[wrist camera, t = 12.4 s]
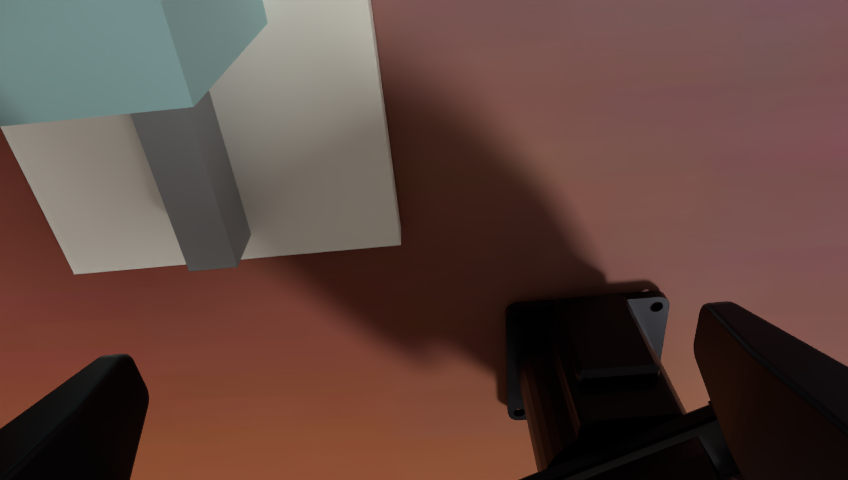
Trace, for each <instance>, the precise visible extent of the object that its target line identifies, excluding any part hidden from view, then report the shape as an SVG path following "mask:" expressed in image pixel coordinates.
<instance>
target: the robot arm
mask: <svg viewBox="0 0 848 480" xmlns="http://www.w3.org/2000/svg"><path fill="white" fill-rule="evenodd" d="M655 302H659V303H657V304H656V305H653V306H651V305H652V304H653V303H655ZM668 311H669V301H668V300H667V298H666V296H665V295H664V294H663V293H662V292H660V291H647V292H635V293H624V294H612V295H600V296H589V297H577V298H566V299H554V300H543V301H531V302H519V303H514V304H511V305H509V306H508V307H507V308H506V310H505V348H506V387H507V409H508V414H509V417H510V418H511V419H514V420H527V423H528V428H529V432H530V437H531V442H532V446H533V451H534V456H535V461H536V465H537V470H538V472H537V473H534V474H532V475H529V476H527V477H524V478H522V479H519V480H848V367H847V366H845V365H844V364H842V363H840V362H838V361H837V360H835V359H833V358H831V357H829V356H828V355H826V354H824V353H822V352H821V351H819V350H817V349H815V348H813V347H812V346H810V345H808V344H806V343H805V342H803V341H801V340H799V339H797V338H796V337H794V336H792V335H790V334H789V333H787V332H785V331H783V330H782V329H780V328H778V327H776V326H774V325H773V324H771V323H769V322H767V321H766V320H764V319H762V318H760V317H758V316H757V315H755V314H753V313H751V312H750V311H748V310H746V309H744V308H742V307H741V306H739V305H737V304H735V303H733V302H728V301H726V302H714V303H706V304H704V305H703V306H702V308H701V310H700V313H699V318H698V324H697V329H696V334H695V339H694V355H695V359H696V362H697V364H698V367H699V370H700V372H701V375H702V378H703V381H704V383H705V386H706V389H707V392H708V394H709V397H710V400H711V401H708V403H709V405H706V406H704V407H701V408H699V409H696V410H694V411H691V412H689V413H686V411H685V409H684V407H683V405H682V403H681V401H680V399H679V397H678V395H677V393H676V391H675V389H674V387H673V385H672V383H671V381H670V379H669V377H668V375H667V373H666V371H665V369H664V367H663V365H662V363H661V361H660V360H661V353H662V347H663V341H664V335H665V329H666V323H667V317H668ZM516 314H522V315H521V316H520V317H513V316H514V315H516ZM148 404H149V394H148V390H147V387H146V385H145V383H144V381H143V379H142V377H141V375H140V372H139V370H138V368H137V366H136V364H135V362H134V360H133V359H132V357H131V356H129V355H128V354H114V355H105V356H101V357H99V358H97V359H96V360H95V361H93V362H92V363H90V364H89V365H88V366H86V367H85V368H84V369H82V370H81V371H79V372H78V373H77V374H75V375H74V376H73V377H71V378H70V379H68V380H67V381H66V382H64V383H63V384H62V385H60V386H59V387H57V388H56V389H55V390H53V391H52V392H51V393H49V394H48V395H46V396H45V397H44V398H42V399H41V400H40V401H38V402H37V403H35V404H34V405H33V406H31V407H30V408H29V409H27V410H26V411H24V412H23V413H22V414H20V415H19V416H17V417H16V418H15V419H13V420H12V421H11V422H9V423H8V424H6V425H5V426H4V427H2V428H1V429H0V480H130V478H131V474H132V469H133V465H134V461H135V457H136V453H137V449H138V445H139V441H140V437H141V433H142V429H143V425H144V421H145V417H146V413H147V409H148ZM516 409H519V410H516Z"/></svg>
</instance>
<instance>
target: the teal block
mask: <svg viewBox="0 0 848 480" xmlns="http://www.w3.org/2000/svg"><path fill="white" fill-rule="evenodd" d="M267 23H268V22H267V18H266V13H265V9H264V4H263V0H0V126H10V125H20V124H30V123H40V122H50V121H60V120H70V119H80V118H90V117H100V116H110V115H120V114H130V113H139V112H149V111H159V110H169V109H179V108H189V107H194V106H195V105H196V104H197V103H198V102H199V101H200V99H201V98H202V97H203V96H204V95H205V94H206V93H207V91H208V90H209V89H210V88H211V87H212V86H213V85H214V84H215V82H216V81H217V80H218V79H219V78H220V77H221V76H222V74H223V73H224V72H225V71H226V70H227V69H228V68H229V67H230V65H231V64H232V63H233V62H234V61H235V60H236V59H237V57H238V56H239V55H240V54H241V53H242V52H243V51H244V50H245V48H246V47H247V46H248V45H249V44H250V43H251V42H252V40H253V39H254V38H255V37H256V36H257V35H258V34H259V33H260V31H261V30H262V29H263V28H264V27H265V26H266V25H267Z"/></svg>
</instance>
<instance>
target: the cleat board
mask: <svg viewBox="0 0 848 480" xmlns="http://www.w3.org/2000/svg"><path fill="white" fill-rule="evenodd" d="M263 4H264V9H265V13H266V18H267V22H268V23H267V25H266V26H265V27H264V28H263V29H262V30H261V31H260V33H259V34H258V35H257V36H256V37H255V38H254V39H253V40H252V42H251V43H250V44H249V45H248V46H247V47H246V48H245V50H244V51H243V52H242V53H241V54H240V55H239V56H238V57H237V59H236V60H235V61H234V62H233V63H232V64H231V65H230V67H229V68H228V69H227V70H226V71H225V72H224V73H223V74H222V76H221V77H220V78H219V79H218V80H217V81H216V82H215V84H214V85H213V86H212V87H211V88H210V89H209V90H208V91H207V93H206V94H205V95H204V96H203V97H202V98H201V99H200V101H199V102H198V103H197V104H196V105H195V106H194V107H189V108H179V109H169V110H159V111H149V112H139V113H130V114H120V115H110V116H100V117H90V118H80V119H70V120H60V121H50V122H40V123H30V124H20V125H10V126H0V127H1V129H2V131H3V133H4V135H5V137H6V139H7V141H8V143H9V145H10V147H11V149H12V151H13V153H14V155H15V157H16V159H17V161H18V163H19V165H20V167H21V169H22V171H23V173H24V175H25V177H26V179H27V181H28V183H29V185H30V187H31V189H32V191H33V193H34V195H35V197H36V199H37V201H38V203H39V205H40V207H41V209H42V211H43V213H44V215H45V217H46V219H47V221H48V223H49V225H50V227H51V229H52V231H53V233H54V235H55V237H56V239H57V241H58V243H59V245H60V247H61V249H62V251H63V253H64V255H65V257H66V259H67V261H68V263H69V265H70V266H71V268H72V270H73V272H74V274H84V273H96V272H107V271H118V270H129V269H140V268H151V267H162V266H173V265H185V264H186V265H187V267H188V270H189V271H199V270H210V269H221V268H232V267H238V265H239V262H240V260H241V259H251V258H262V257H274V256H285V255H296V254H307V253H318V252H329V251H340V250H351V249H363V248H374V247H385V246H396V245H401V225H400V217H399V210H398V202H397V195H396V187H395V180H394V172H393V164H392V157H391V149H390V142H389V134H388V127H387V119H386V112H385V104H384V97H383V89H382V82H381V74H380V67H379V59H378V52H377V44H376V36H375V29H374V21H373V14H372V6H371V0H263Z"/></svg>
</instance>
